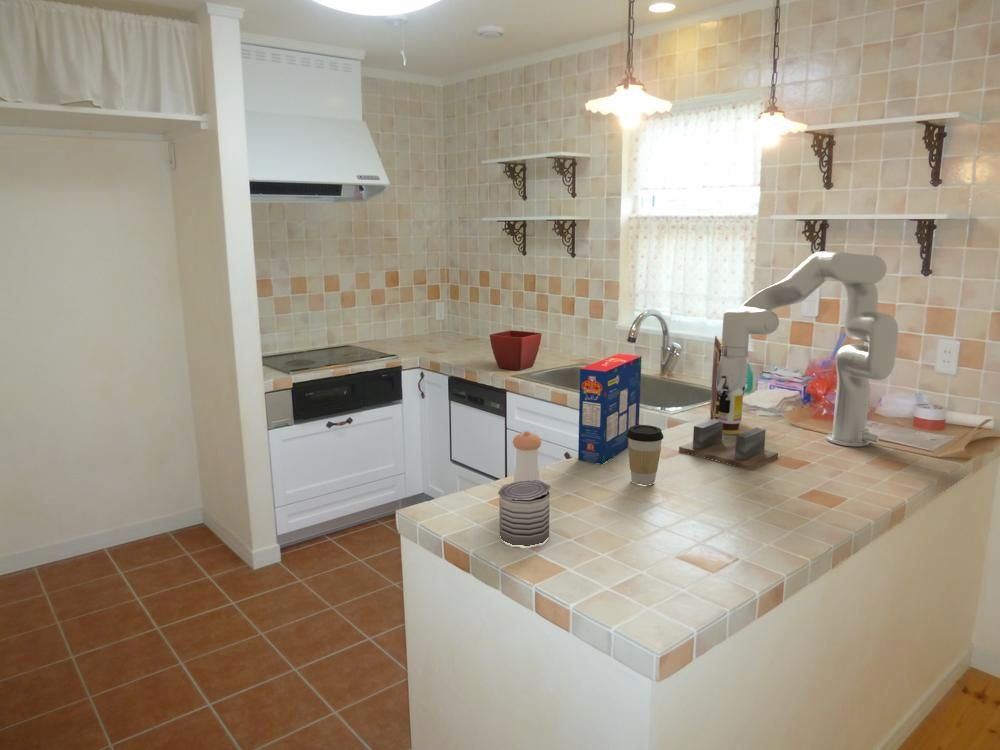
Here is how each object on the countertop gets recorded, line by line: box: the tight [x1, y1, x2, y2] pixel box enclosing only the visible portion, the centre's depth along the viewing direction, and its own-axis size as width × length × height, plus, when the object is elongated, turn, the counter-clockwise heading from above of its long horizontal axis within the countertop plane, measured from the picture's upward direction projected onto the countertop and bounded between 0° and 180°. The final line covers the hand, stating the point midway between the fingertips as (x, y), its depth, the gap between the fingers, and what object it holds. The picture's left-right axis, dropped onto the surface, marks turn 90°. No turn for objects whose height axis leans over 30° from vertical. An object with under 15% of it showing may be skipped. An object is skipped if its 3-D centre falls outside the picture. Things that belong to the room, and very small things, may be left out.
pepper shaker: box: [512, 430, 542, 482], centre depth 175 cm, size 7×7×19 cm
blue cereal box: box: [577, 353, 643, 465], centre depth 217 cm, size 28×8×28 cm, turn 148°
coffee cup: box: [626, 424, 664, 485], centre depth 190 cm, size 10×10×15 cm
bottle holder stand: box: [678, 419, 779, 471], centre depth 213 cm, size 24×16×8 cm, turn 43°
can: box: [497, 479, 552, 546], centre depth 157 cm, size 11×11×12 cm
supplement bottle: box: [718, 384, 744, 424], centre depth 211 cm, size 7×7×13 cm
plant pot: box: [489, 330, 543, 371], centre depth 345 cm, size 19×19×17 cm
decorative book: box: [709, 335, 741, 436], centre depth 242 cm, size 22×8×30 cm, turn 168°
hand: (730, 409), depth 211 cm, fingers closed on supplement bottle, 6 cm apart
